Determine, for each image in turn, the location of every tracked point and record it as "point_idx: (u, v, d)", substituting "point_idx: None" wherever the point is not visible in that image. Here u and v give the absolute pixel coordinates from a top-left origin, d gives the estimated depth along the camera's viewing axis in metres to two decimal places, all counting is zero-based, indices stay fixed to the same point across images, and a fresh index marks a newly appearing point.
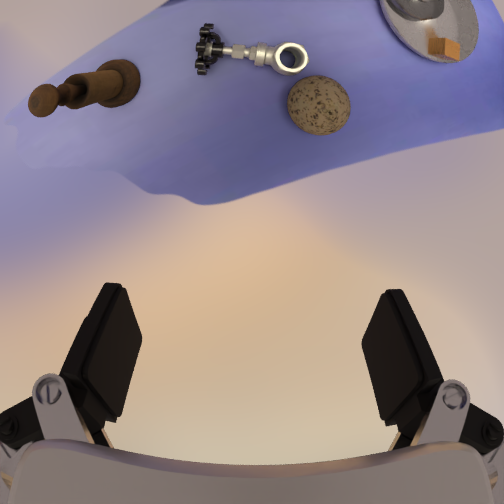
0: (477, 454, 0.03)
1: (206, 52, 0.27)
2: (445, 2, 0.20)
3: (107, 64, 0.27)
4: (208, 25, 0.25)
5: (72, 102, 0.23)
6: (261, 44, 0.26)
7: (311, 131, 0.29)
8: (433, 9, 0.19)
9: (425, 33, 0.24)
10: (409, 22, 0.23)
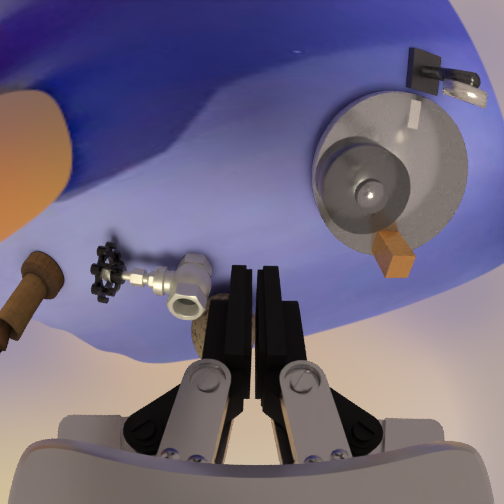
0: (477, 454, 0.03)
1: (107, 279, 0.28)
2: (420, 164, 0.22)
3: (27, 266, 0.29)
4: (100, 252, 0.27)
5: None
6: (157, 277, 0.28)
7: None
8: (385, 214, 0.21)
9: None
10: None
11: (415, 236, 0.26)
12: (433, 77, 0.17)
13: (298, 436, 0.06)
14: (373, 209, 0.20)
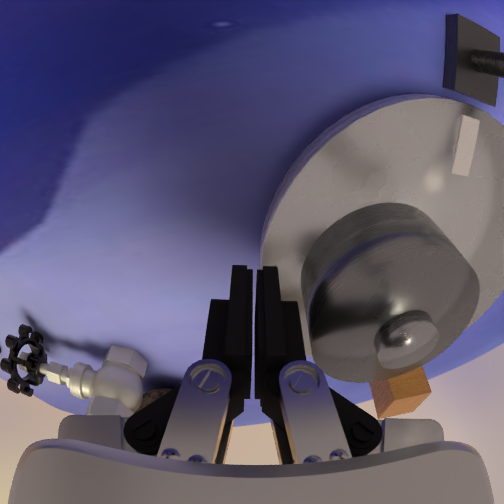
0: (477, 454, 0.03)
1: None
2: (463, 238, 0.11)
3: None
4: (9, 345, 0.16)
5: None
6: (73, 382, 0.17)
7: None
8: None
9: None
10: None
11: None
12: (498, 72, 0.07)
13: (297, 436, 0.06)
14: (404, 363, 0.09)
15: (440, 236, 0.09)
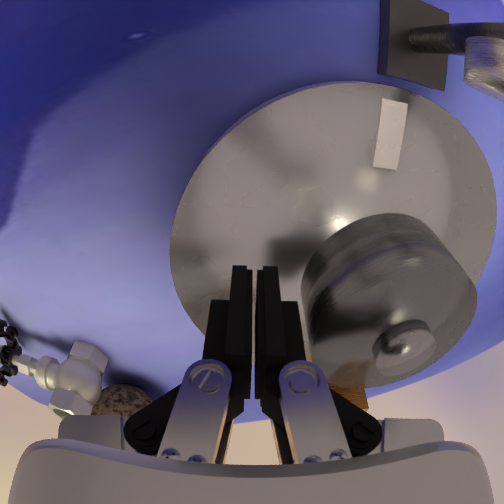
0: (477, 454, 0.03)
1: None
2: None
3: None
4: None
5: None
6: (39, 374, 0.17)
7: None
8: None
9: (304, 343, 0.15)
10: None
11: None
12: (435, 48, 0.07)
13: (297, 436, 0.06)
14: (401, 370, 0.09)
15: (443, 249, 0.09)
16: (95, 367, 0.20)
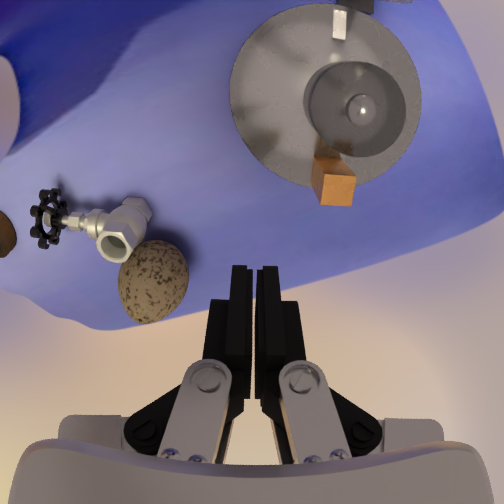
0: (477, 454, 0.03)
1: (49, 225, 0.25)
2: None
3: None
4: (42, 195, 0.23)
5: None
6: (91, 218, 0.25)
7: None
8: (379, 137, 0.18)
9: (307, 150, 0.22)
10: (277, 138, 0.22)
11: (364, 165, 0.23)
12: None
13: (297, 436, 0.06)
14: (366, 124, 0.17)
15: None
16: (143, 214, 0.27)
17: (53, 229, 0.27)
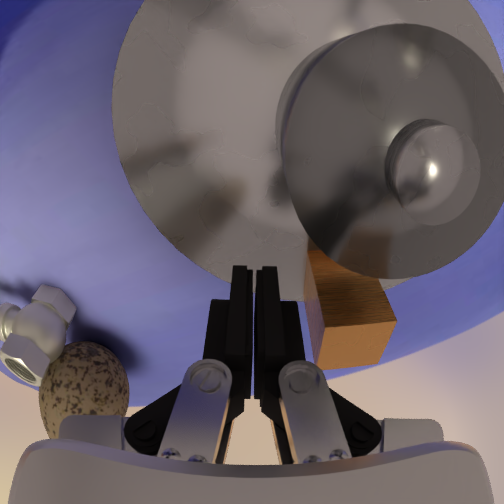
0: (477, 454, 0.03)
1: None
2: None
3: None
4: None
5: None
6: None
7: None
8: (457, 228, 0.07)
9: (294, 239, 0.11)
10: (227, 223, 0.11)
11: None
12: None
13: (296, 436, 0.06)
14: (439, 213, 0.06)
15: None
16: (59, 314, 0.16)
17: None
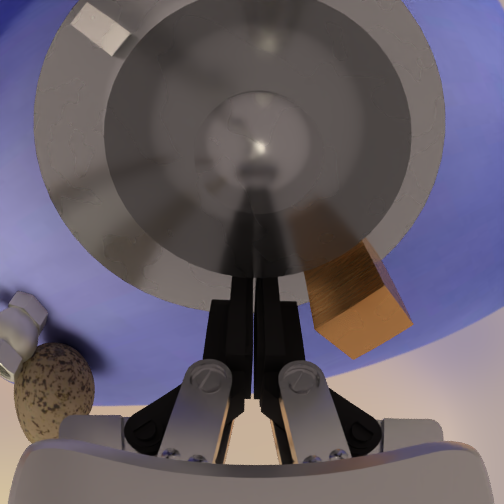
0: (477, 454, 0.03)
1: None
2: None
3: None
4: None
5: None
6: None
7: None
8: (366, 158, 0.06)
9: None
10: None
11: None
12: None
13: (296, 437, 0.06)
14: (295, 184, 0.06)
15: None
16: (31, 318, 0.17)
17: None
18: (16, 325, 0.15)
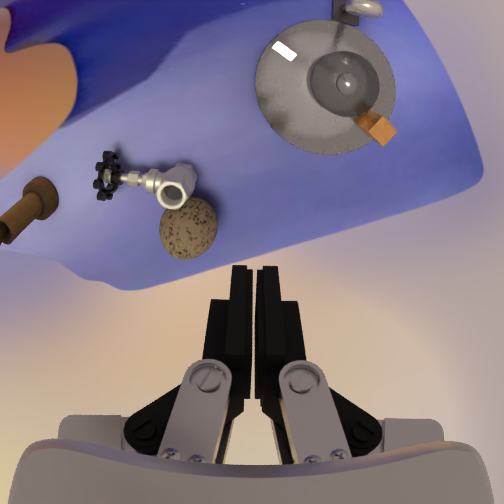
0: (477, 454, 0.03)
1: (107, 181, 0.33)
2: None
3: (29, 186, 0.33)
4: (106, 154, 0.31)
5: (4, 237, 0.29)
6: (150, 174, 0.32)
7: None
8: (369, 85, 0.24)
9: (349, 124, 0.30)
10: (330, 135, 0.30)
11: (383, 99, 0.27)
12: None
13: (297, 436, 0.06)
14: (357, 89, 0.24)
15: (326, 54, 0.23)
16: (192, 175, 0.35)
17: (109, 186, 0.34)
18: (189, 173, 0.33)
